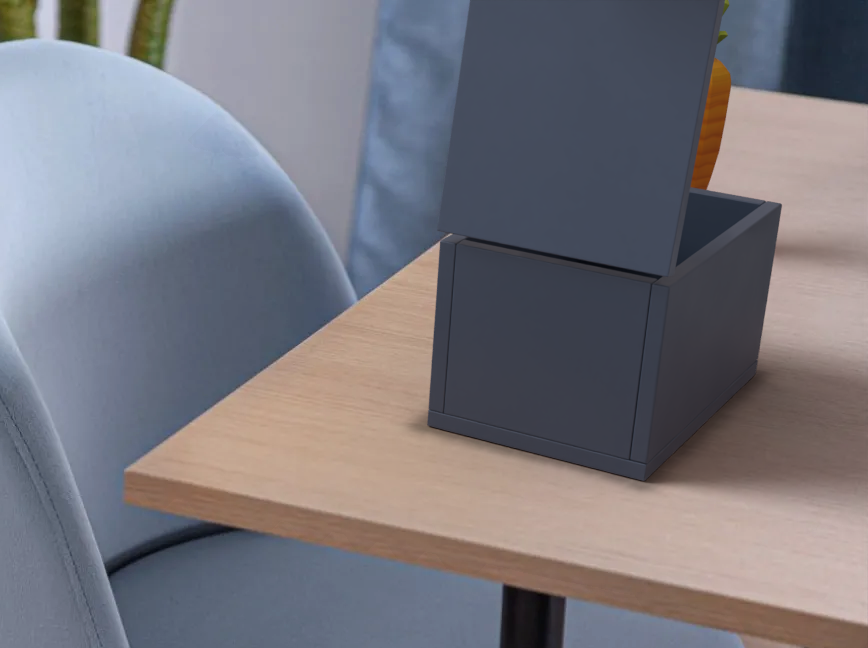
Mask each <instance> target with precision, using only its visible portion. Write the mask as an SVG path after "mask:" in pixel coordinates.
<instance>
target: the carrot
mask: <svg viewBox="0 0 868 648" xmlns="http://www.w3.org/2000/svg"><path fill="white" fill-rule="evenodd" d="M729 7H730V1H729V0H725V4H724V9H723V14H722V17H724V15H725V13H726V12H727V10H728V9H729ZM727 37H729V33H728V32H727V31H726V30H720V31H719V36H718V41H717V45H719V44H720V43H721V42H722V41H724V40H725V39H726V38H727ZM731 89H732V76H731V73H730V71H729V70H728V68H727V67H726V65H725V64H724V63H723V62H722V61H721V60H720V59H719V58H717V57H714V63H713V68H712V74H711V79H710V84H709V90H708V95H707V100H706V106H705V111H704V117H703V122H702V127H701V133H700V138H699V143H698V149H697V154H696V160H695V165H694V170H693V176H692V181H691V186H690V187H692V188H698V189H704V190H708V188H709V184H710V182H711V179H712V176H713V173H714V170H715V166H716V164H717V161H718V158H719V154H720V149H721V145H722V139H723V136H724V135H723V134H724V128H725V126H726V125H725V124H726V120H727V113H728V109H729V108H728V107H729V101H730V97H731Z"/></svg>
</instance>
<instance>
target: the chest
mask: <svg viewBox="0 0 868 648" xmlns="http://www.w3.org/2000/svg"><path fill="white" fill-rule="evenodd" d="M782 209H783V204H782V203H781V202H776V201H770V200H769V201H768V200H765V199H759V198H754V197H749V196H742V195H738V194H737V195H736V194H732V193H726V192H719V191H714V190H709V189H707V190H704V189H698V188H692V187H690V192H689V197H688V203H687V208H686V213H685V219H684V224H683V230H682V235H681V240H680V246H679V251H678V256H677V262H676V267H675V273H674V276H670V277H663V276H659V275H654V274H649V273H644V272H639V271H634V270H629V269H624V268H619V267H614V266H609V265H604V264H599V263H594V262H589V261H584V260H579V259H574V258H569V257H564V256H560V255H555V254H550V253H545V252H540V251H535V250H530V249H525V248H520V247H515V246H510V245H505V244H500V243H495V242H490V241H485V240H480V239H475V238H470V237H466V236H461V235H456V234H450V235H448V236H446V237H444V238H442V239H441V240H440V241H439V249H438V250H439V252H438V264H437V265H438V267H437V281H436V295H435V309H434V323H433V338H432V351H431V366H430V379H429V380H430V382H429V396H428V410H427V423H426V425H427V426H428V427H431V428H435V429H439V430H443V431H447V432H451V433H455V434H458V435H462V436H467V437H470V438H473V439H477V440H482V441H485V442H490V443H494V444H497V445H501V446H506V447H509V448H512V449H517V450H521V451H525V452H529V453H533V454H537V455H540V456H544V457H549V458H553V459H556V460H560V461H564V462H568V463H571V464H576V465H580V466H583V467H587V468H590V469H591V468H592V469H595V470H599V471H602V472H603V471H604V472H607V473H611V474H614V475H619V476H623V477H626V478H630V479H635V480H638V481H642V482H645V481H646V480H647V479H648V478H650V477H651V475H653V474H654V472H656V471H657V470H658V468H660V467H661V466H662V465H663V464H665V462H666V461H667V460H668V459H669V458H670V457H671V456H672V455H673V454H674V453H675V452H676V451H677V450H679V449H680V448H681V447H682V446H683V445H684V443H686V442H687V441H688V440H689V439H690V438H691V437H692V436H693V435H694V434H695V433H696V432H697V431H698V430H699V429H700V428H702V426H704V425H705V424H706V423H707V422H708V421H709V420H710V419H711V418H712V417H713V416H714V415H715V414H716V413H717V412H718V411H719V410H720V409H721V408H722V407H723V406H724V405H725V404H727V402H728V401H729V400H730V399H732V397H733V396H735V394H737V393H738V392H739V391H740V390H741V389H742V388H743V387H744V386H745V385H746V384H747V383H748V382H749V381H750V380H752V378H753V377H754V376H756V374H757V369H758V363H759V361H758V359H759V356H760V350H761V349H760V348H761V344H762V343H761V341H762V336H763V329H764V324H765V317H766V310H767V304H768V297H769V290H770V285H771V278H772V273H773V265H774V260H775V253H776V248H777V247H776V246H777V241H778V233H779V228H780V222H781V215H782Z"/></svg>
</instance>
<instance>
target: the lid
mask: <svg viewBox="0 0 868 648" xmlns="http://www.w3.org/2000/svg"><path fill="white" fill-rule="evenodd" d="M724 4H725V0H469V4H468V11H467V17H466V26H465V31H464V32H465V33H464V37H463V38H464V39H463V45H462V53H461V59H460V68H459V74H458V79H457V86H456V93H455V100H454V101H455V102H454V108H453V115H452V122H451V129H450V136H449V142H448V143H449V144H448V150H447V156H446V165H445V171H444V177H443V185H442V191H441V199H440V205H439V211H438V212H439V213H438V220H437V227H436V231H437V232H441V233H445V234H446V233H447V234H450V235H452V234H456V235H461V236H466V237H470V238H475V239H480V240H485V241H490V242H495V243H500V244H505V245H510V246H515V247H520V248H525V249H530V250H535V251H540V252H545V253H550V254H555V255H560V256H564V257H569V258H574V259H579V260H584V261H589V262H594V263H599V264H604V265H609V266H614V267H619V268H624V269H629V270H634V271H639V272H644V273H649V274H654V275H659V276H663V277H670V276H674V273H675V267H676V262H677V256H678V251H679V246H680V240H681V235H682V230H683V224H684V219H685V213H686V208H687V203H688V197H689V192H690V186H691V181H692V176H693V170H694V165H695V160H696V154H697V149H698V143H699V138H700V133H701V127H702V122H703V117H704V111H705V106H706V100H707V95H708V90H709V84H710V79H711V74H712V68H713V63H714V58H716V57H715V56H716V51H717V46H718V44H717V41H718V36H719V31H721V25H722V20H723V16H722V14H723V9H724Z"/></svg>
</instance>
